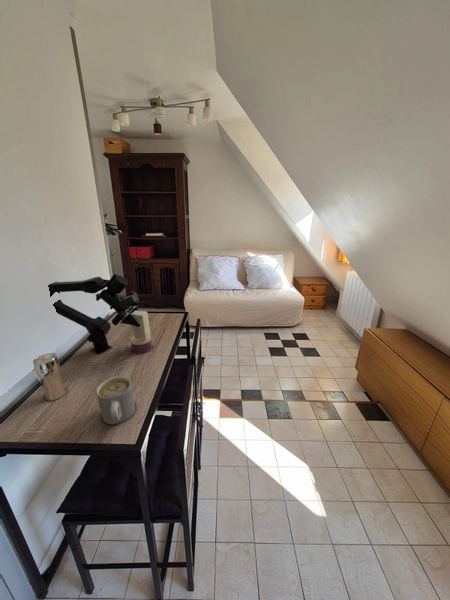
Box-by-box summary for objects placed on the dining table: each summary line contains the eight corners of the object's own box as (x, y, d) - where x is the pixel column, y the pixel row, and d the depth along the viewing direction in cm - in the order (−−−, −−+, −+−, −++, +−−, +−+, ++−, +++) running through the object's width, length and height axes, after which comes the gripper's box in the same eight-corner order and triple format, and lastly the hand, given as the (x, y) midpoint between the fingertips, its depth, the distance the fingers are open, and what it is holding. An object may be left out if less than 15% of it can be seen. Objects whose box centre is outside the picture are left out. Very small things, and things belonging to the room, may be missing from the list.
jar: (127, 350, 116) (125, 340, 114) (142, 341, 123) (140, 331, 121) (142, 355, 111) (140, 345, 110) (156, 346, 119) (155, 335, 117)
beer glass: (51, 388, 92) (40, 353, 87) (70, 387, 92) (61, 352, 87) (39, 402, 85) (27, 365, 80) (60, 400, 86) (49, 363, 81)
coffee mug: (107, 402, 85) (102, 378, 81) (137, 399, 86) (133, 375, 83) (93, 435, 72) (86, 408, 69) (129, 431, 74) (124, 404, 70)
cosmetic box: (151, 335, 115) (148, 311, 111) (145, 340, 111) (142, 315, 107) (139, 333, 117) (135, 309, 112) (133, 338, 113) (129, 313, 108)
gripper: (114, 295, 97) (145, 321, 101) (133, 281, 115) (159, 304, 118) (98, 313, 100) (129, 338, 104) (119, 297, 118) (144, 319, 121)
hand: (141, 323), depth 112 cm, fingers closed on cosmetic box, 5 cm apart
